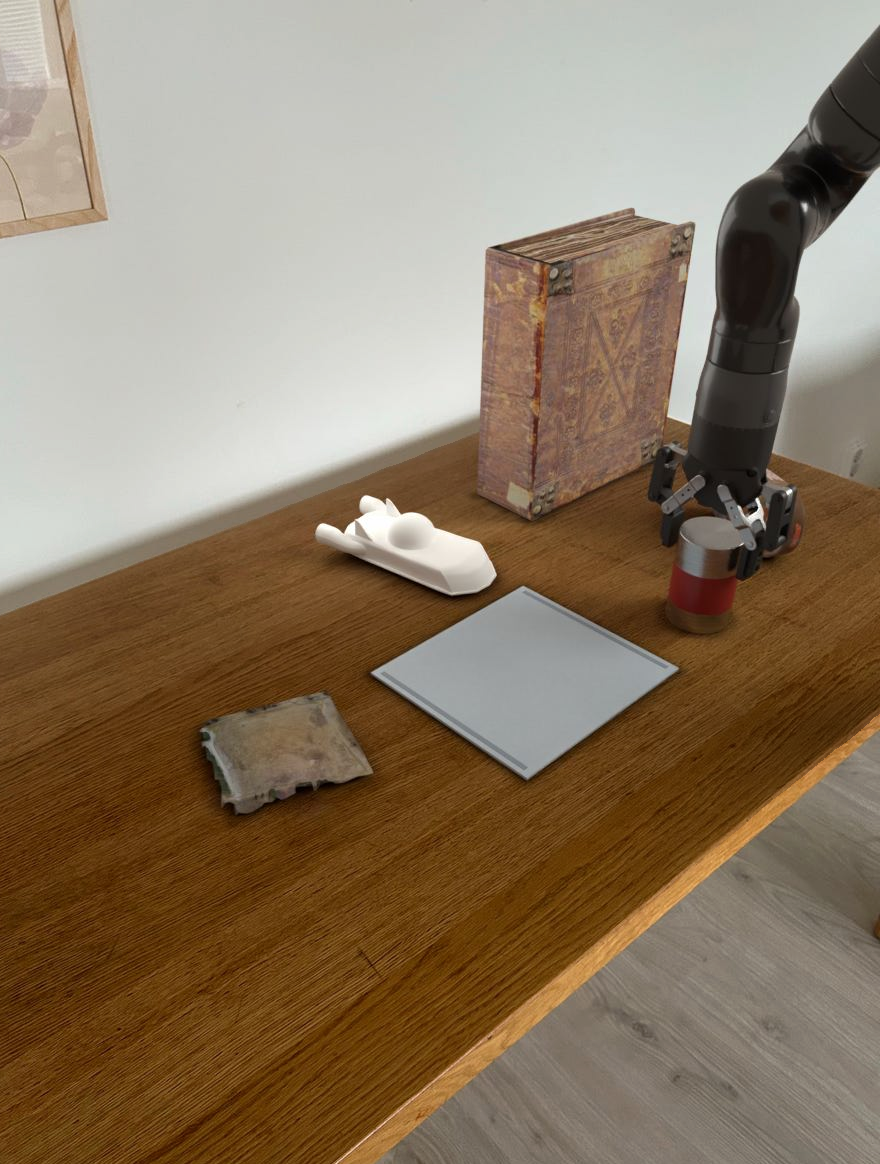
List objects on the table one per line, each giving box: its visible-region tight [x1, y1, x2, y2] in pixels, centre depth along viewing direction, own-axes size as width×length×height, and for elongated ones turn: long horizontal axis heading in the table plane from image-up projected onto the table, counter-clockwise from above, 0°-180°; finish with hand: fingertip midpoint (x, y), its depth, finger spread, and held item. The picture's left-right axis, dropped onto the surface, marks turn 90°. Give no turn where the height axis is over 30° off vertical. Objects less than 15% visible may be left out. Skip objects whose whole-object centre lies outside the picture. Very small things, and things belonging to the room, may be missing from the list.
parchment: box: [198, 690, 374, 816], centre depth 89 cm, size 12×13×1 cm
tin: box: [711, 467, 807, 558], centre depth 115 cm, size 15×3×8 cm, turn 17°
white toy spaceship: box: [314, 494, 497, 597], centre depth 112 cm, size 10×20×6 cm, turn 54°
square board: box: [370, 585, 680, 781], centre depth 98 cm, size 20×22×1 cm
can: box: [664, 516, 745, 635], centre depth 102 cm, size 6×6×10 cm
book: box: [476, 207, 696, 522], centre depth 122 cm, size 25×9×30 cm, turn 131°
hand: (706, 560), depth 101 cm, fingers open, 8 cm apart
